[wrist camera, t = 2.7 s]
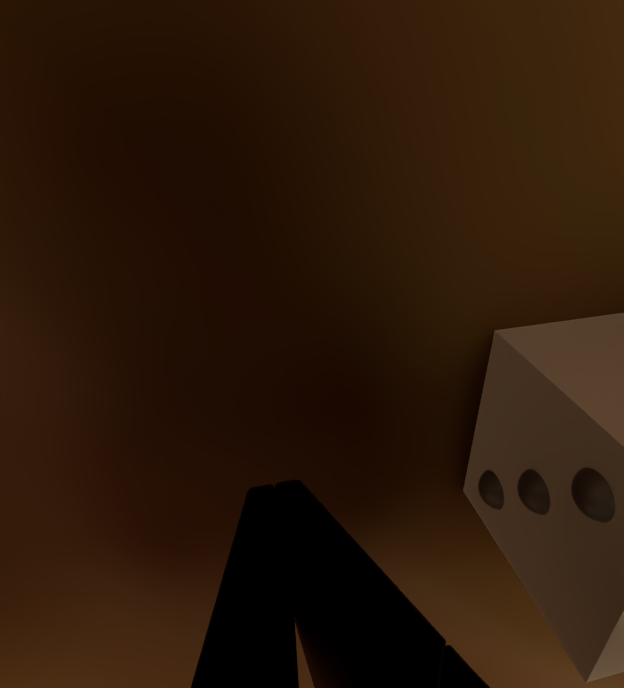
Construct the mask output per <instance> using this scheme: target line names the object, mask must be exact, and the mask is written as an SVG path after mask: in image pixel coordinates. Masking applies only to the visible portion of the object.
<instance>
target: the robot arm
mask: <svg viewBox="0 0 624 688" xmlns="http://www.w3.org/2000/svg"><path fill="white" fill-rule="evenodd" d="M294 618H295V620H294ZM295 623H296V627H297V630H298V634H299V638H300V641H301V644H302V648H303V651H304V654H305V658H306V661H307V664H308V667H309V671H310V674H311V677H312V681H313V684H314V687H315V688H490V687H489V686H488V685H487V684H486V683H485V682H484V681H483V680H482V679H481V678H480V677H479V676H478V675H477V674H476V673H475V671H474V670H473V669H472V668H471V667H470V666H469V665H468V664H467V663H466V662H465V661H464V660H463V658H462V657H461V656H460V655H459V654H458V653H457V652H456V651H455V650H454V648H453V647H452V646H450V645H447V646H446V640H445V639H444V638H443V637H442V636H441V635H440V633H439V632H438V631H437V630H436V629H435V628H434V627H433V626H432V625H431V624H430V622H429V621H428V620H427V619H426V618H425V617H424V616H423V615H422V614H421V613H420V612H419V610H418V609H417V608H416V607H415V606H414V605H413V604H412V603H411V602H410V601H409V599H408V598H407V597H406V596H405V595H404V594H403V593H402V592H401V591H400V590H399V588H398V587H397V586H396V585H395V584H394V583H393V582H392V581H391V580H390V579H389V577H388V576H387V575H386V574H385V573H384V572H383V571H382V570H381V569H380V568H379V566H378V565H377V564H376V563H375V562H374V561H373V560H372V559H371V558H370V557H369V555H368V554H367V553H366V552H365V551H364V550H363V549H362V548H361V547H360V546H359V544H358V543H357V542H356V541H355V540H354V539H353V538H352V537H351V536H350V535H349V534H348V532H347V531H346V530H345V529H344V528H343V527H342V526H341V525H340V524H339V523H338V521H337V520H336V519H335V518H334V517H333V516H332V515H331V514H330V513H329V512H328V510H327V509H326V508H325V507H324V506H323V505H322V504H321V503H320V502H319V501H318V499H317V498H316V497H315V496H314V495H313V494H312V493H311V492H310V491H309V490H308V488H307V487H306V486H305V485H304V484H303V483H302V482H301V481H300V480H290V481H285V482H279V483H277V484H276V485H275V487H273V485H271V484H268V485H263V486H258V487H252V488H250V489H249V490H248V492H247V494H246V498H245V501H244V505H243V508H242V512H241V515H240V518H239V522H238V525H237V529H236V532H235V536H234V539H233V543H232V546H231V550H230V553H229V557H228V560H227V564H226V567H225V571H224V574H223V577H222V581H221V584H220V588H219V591H218V595H217V598H216V602H215V605H214V609H213V612H212V616H211V619H210V623H209V626H208V629H207V633H206V636H205V640H204V643H203V647H202V650H201V654H200V657H199V661H198V664H197V668H196V671H195V675H194V678H193V682H192V685H191V688H299V682H298V666H297V650H296V635H295Z"/></svg>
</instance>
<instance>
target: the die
mask: <svg viewBox="0 0 624 688" xmlns="http://www.w3.org/2000/svg"><path fill="white" fill-rule="evenodd" d="M463 492H464V493H465V495H466V496H467V498H468V500H469V501H470V503H471V504H472V506H473V507H474V509H475V510H476V512H477V514H478V515H479V517H480V518H481V520H482V521H483V523H484V524H485V526H486V528H487V529H488V531H489V532H490V534H491V535H492V537H493V539H494V540H495V542H496V543H497V545H498V546H499V548H500V549H501V551H502V553H503V554H504V556H505V557H506V559H507V560H508V562H509V564H510V565H511V567H512V568H513V570H514V571H515V573H516V574H517V576H518V578H519V579H520V581H521V582H522V584H523V585H524V587H525V589H526V590H527V592H528V593H529V595H530V596H531V598H532V599H533V601H534V603H535V604H536V606H537V607H538V609H539V610H540V612H541V614H542V615H543V617H544V618H545V620H546V621H547V623H548V624H549V626H550V628H551V629H552V631H553V632H554V634H555V635H556V637H557V639H558V640H559V642H560V643H561V645H562V646H563V648H564V649H565V651H566V653H567V654H568V656H569V657H570V659H571V660H572V662H573V664H574V665H575V667H576V668H577V670H578V671H579V673H580V674H581V676H582V678H583V679H584V681H585V682H586V683H587V682H591V681H594V680H598V679H601V678H605V677H608V676H612V675H615V674H618V673H622V672H624V313H618V314H610V315H603V316H596V317H589V318H581V319H574V320H567V321H560V322H552V323H545V324H538V325H531V326H523V327H516V328H509V329H502V330H495V331H494V336H493V341H492V346H491V351H490V357H489V362H488V367H487V372H486V377H485V382H484V387H483V392H482V397H481V402H480V407H479V412H478V417H477V422H476V427H475V433H474V438H473V443H472V448H471V453H470V458H469V463H468V468H467V473H466V478H465V483H464V488H463Z"/></svg>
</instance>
